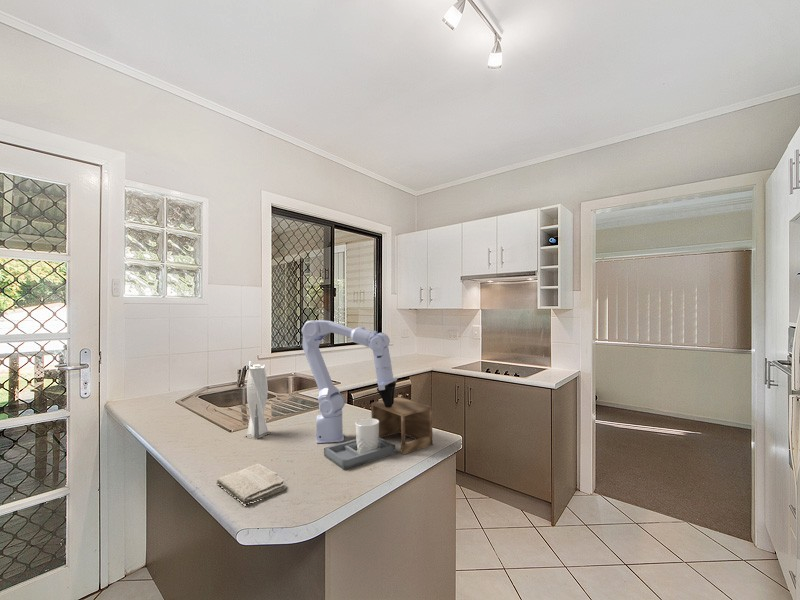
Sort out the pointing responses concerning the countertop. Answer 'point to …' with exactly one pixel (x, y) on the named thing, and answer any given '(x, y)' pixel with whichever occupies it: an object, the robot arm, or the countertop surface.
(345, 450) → the tray
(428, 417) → the shelf
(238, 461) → the countertop surface
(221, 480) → the washcloth
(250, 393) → the skyscraper
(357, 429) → the white cup
